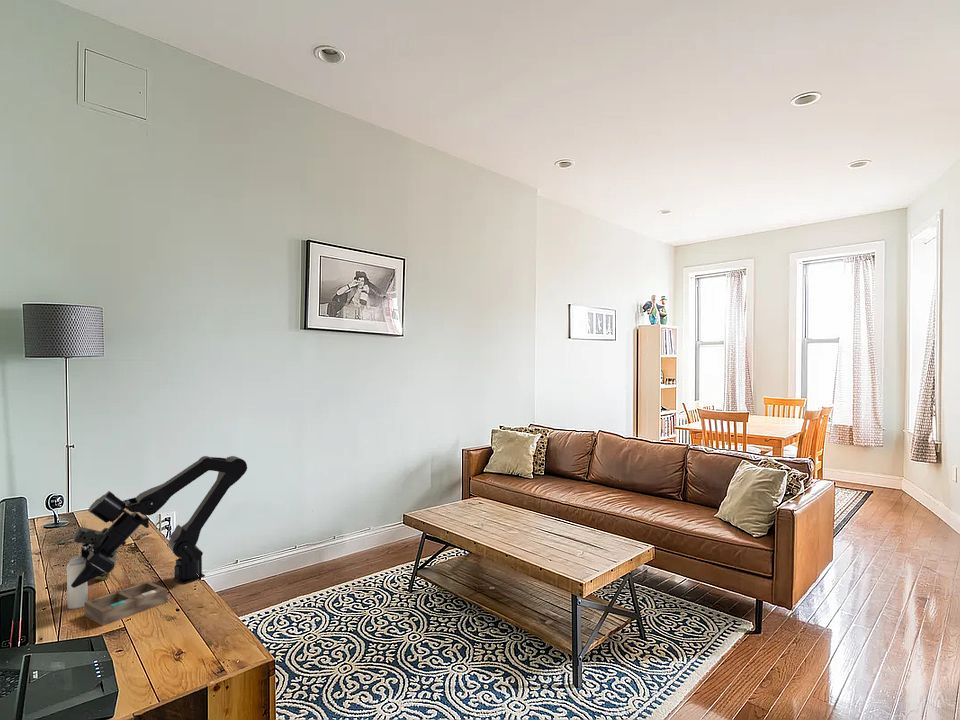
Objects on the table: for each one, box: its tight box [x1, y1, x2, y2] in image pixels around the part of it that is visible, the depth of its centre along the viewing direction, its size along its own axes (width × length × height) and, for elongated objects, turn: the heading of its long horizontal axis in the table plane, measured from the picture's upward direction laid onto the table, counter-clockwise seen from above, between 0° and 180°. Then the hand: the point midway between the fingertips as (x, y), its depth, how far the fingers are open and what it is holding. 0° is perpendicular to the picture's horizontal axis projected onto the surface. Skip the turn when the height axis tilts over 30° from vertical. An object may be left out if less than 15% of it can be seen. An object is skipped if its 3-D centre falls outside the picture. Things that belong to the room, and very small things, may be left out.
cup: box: [95, 550, 118, 581], centre depth 167 cm, size 8×7×8 cm
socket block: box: [83, 581, 168, 626], centre depth 147 cm, size 16×10×4 cm, turn 147°
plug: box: [66, 556, 89, 610], centre depth 149 cm, size 4×4×12 cm
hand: (71, 581), depth 148 cm, fingers open, 8 cm apart
